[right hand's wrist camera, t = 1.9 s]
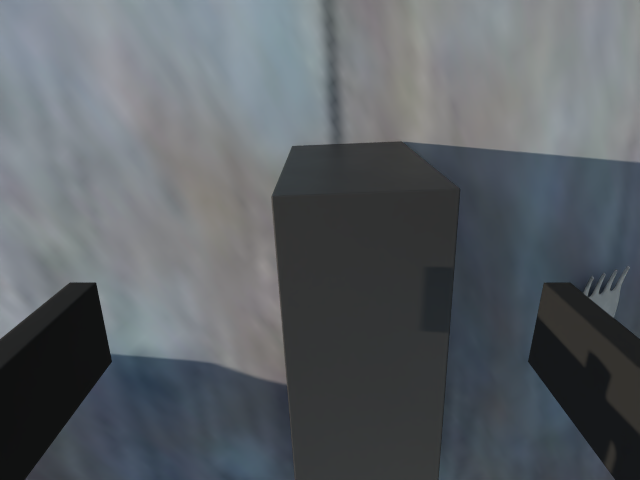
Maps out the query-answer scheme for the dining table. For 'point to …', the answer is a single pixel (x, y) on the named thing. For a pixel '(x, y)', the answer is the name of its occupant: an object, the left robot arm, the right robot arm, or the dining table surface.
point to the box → (365, 308)
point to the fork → (607, 292)
